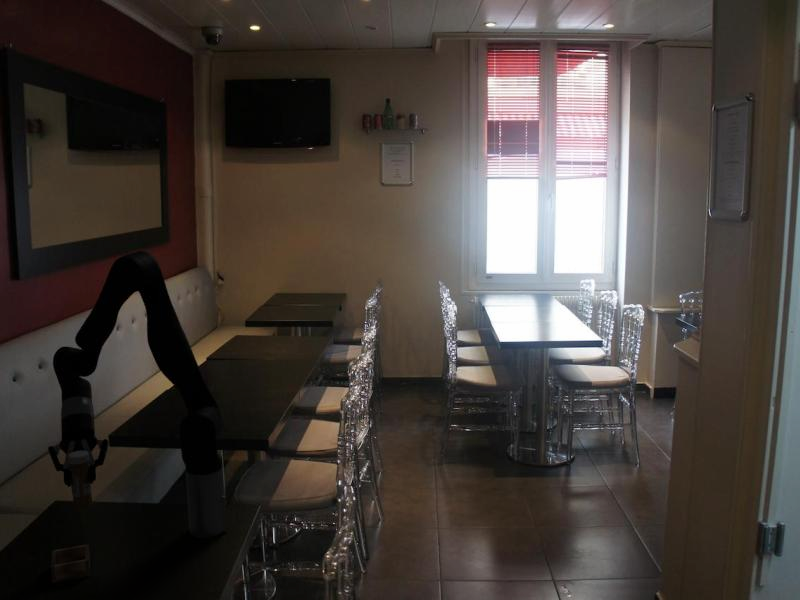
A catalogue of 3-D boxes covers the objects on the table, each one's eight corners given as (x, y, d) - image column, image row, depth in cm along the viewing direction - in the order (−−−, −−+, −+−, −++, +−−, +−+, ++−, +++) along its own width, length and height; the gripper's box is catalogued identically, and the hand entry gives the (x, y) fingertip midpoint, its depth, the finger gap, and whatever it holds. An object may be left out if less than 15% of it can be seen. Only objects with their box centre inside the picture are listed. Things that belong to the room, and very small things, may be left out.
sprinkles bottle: (94, 507, 180) (90, 454, 177) (74, 512, 178) (69, 458, 175) (91, 499, 184) (86, 448, 181) (71, 504, 181) (66, 452, 179)
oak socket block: (90, 559, 182) (88, 544, 181) (90, 576, 175) (88, 560, 174) (53, 565, 179) (52, 550, 178) (52, 583, 172) (50, 567, 171)
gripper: (44, 415, 181) (45, 482, 172) (107, 408, 186) (111, 473, 177) (47, 429, 187) (49, 494, 178) (109, 421, 192) (113, 485, 183)
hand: (80, 483), depth 178 cm, fingers closed on sprinkles bottle, 4 cm apart
